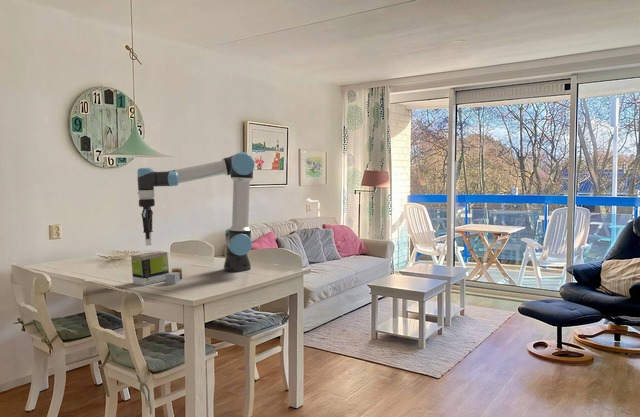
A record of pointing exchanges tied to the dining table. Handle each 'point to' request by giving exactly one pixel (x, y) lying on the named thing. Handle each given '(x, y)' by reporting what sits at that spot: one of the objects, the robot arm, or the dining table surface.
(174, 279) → the slate-grey cube
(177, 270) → the walnut cube
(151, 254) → the tea box
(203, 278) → the dining table surface
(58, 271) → the dining table surface
